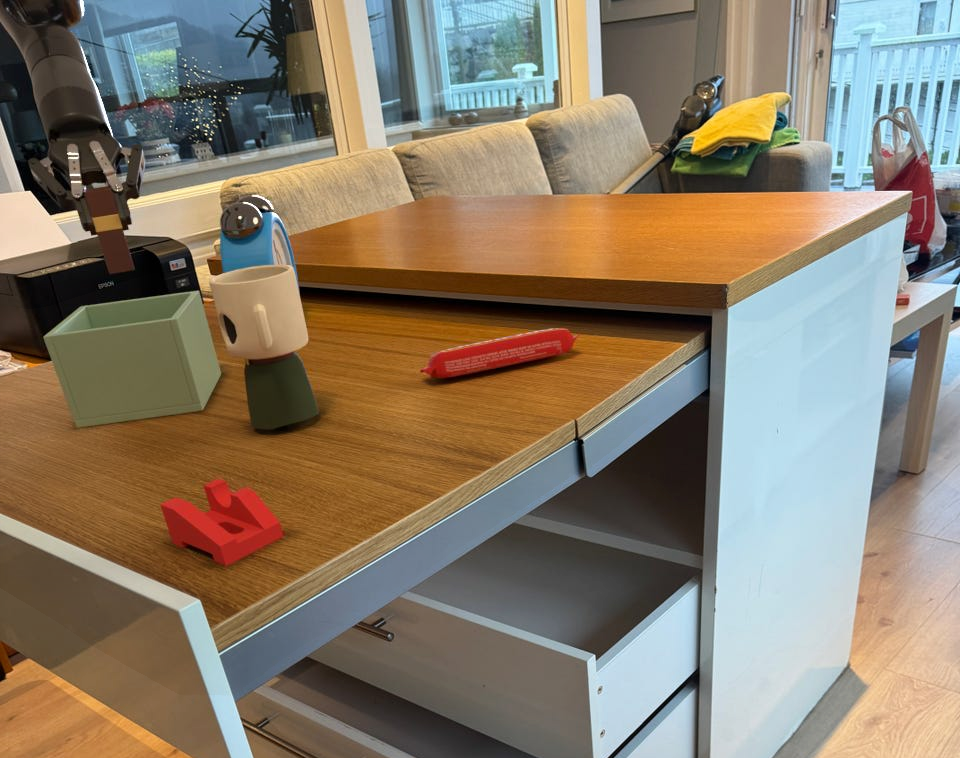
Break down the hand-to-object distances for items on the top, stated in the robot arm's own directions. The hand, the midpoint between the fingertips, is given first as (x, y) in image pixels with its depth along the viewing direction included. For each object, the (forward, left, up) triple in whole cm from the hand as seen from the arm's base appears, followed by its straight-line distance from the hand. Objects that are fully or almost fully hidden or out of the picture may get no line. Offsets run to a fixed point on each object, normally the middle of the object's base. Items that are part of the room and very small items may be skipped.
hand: (109, 227), depth 107 cm
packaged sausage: (+49, -19, -14) cm, 55 cm away
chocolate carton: (-1, +2, -5) cm, 5 cm away
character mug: (+31, -32, -14) cm, 47 cm away
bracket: (+35, -55, -14) cm, 67 cm away
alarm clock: (+17, +2, -14) cm, 22 cm away
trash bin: (+13, -23, -14) cm, 30 cm away
